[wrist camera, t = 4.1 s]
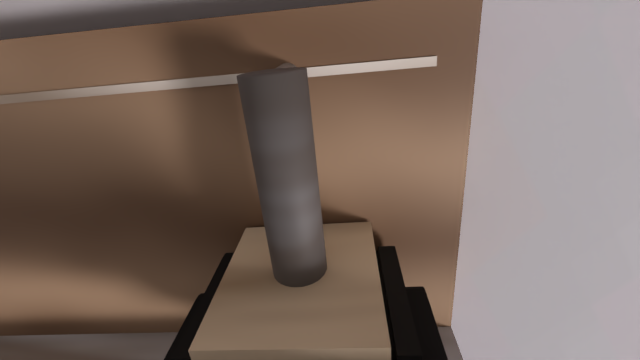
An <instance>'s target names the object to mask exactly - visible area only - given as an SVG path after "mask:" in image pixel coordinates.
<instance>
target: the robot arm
mask: <svg viewBox="0 0 640 360" xmlns="http://www.w3.org/2000/svg"><path fill="white" fill-rule="evenodd" d="M233 254H234V252H233V253H225V254H224V256H223V258H222V260H221V262H220V263H219V265H218V267H217V269H216V271H215V273H214V275H213V277H212V279H211V281H210V283H209V285H208V287H207V289H206V291H205V293H201V294H199V295H198V297H197V298H196V300H195V302H194V303H193V305H192V307H191V309H190V311H189V313H188V315H187V317H186V319H185V320H184V322H183V324H182V326H181V328H180V330H179V332H178V334H177V336H176V337H175V339H174V341H173V343H172V345H171V347H170V349H169V351H168V352H167V354H166V356H165V358H164V360H191V357H190V355H189V352H188V350H189V348H190V346H191V344H192V342H193V339H194V337H195V335H196V333H197V331H198V329H199V327H200V325H201V322H202V320H203V318H204V316H205V314H206V312H207V310H208V308H209V305H210V303H211V301H212V299H213V297H214V295H215V293H216V290H217V288H218V286H219V284H220V282H221V280H222V278H223V276H224V273H225V271H226V269H227V267H228V265H229V263H230V261H231V259H232V256H233ZM376 257H377V263H378V270H379V276H380V282H381V288H382V295H383V301H384V307H385V313H386V319H387V326H388V332H389V338H390V344H391V360H448V358H447V355H446V352H445V349H444V346H443V343H442V340H441V337H440V334H439V330H438V327H437V324H436V321H435V318H434V315H433V312H432V309H431V306H430V303H429V300H428V297H427V293H426V291H425V288H424V287H423V286H418V287H405V284H404V280H403V276H402V272H401V268H400V264H399V260H398V256H397V252H396V248H395V246H378V251H376Z"/></svg>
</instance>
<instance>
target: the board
mask: <svg viewBox="0 0 640 360" xmlns="http://www.w3.org/2000/svg"><path fill="white" fill-rule="evenodd" d="M482 2H483V0H374V1H364V2H355V3H345V4H336V5H327V6H317V7H308V8H298V9H289V10H279V11H270V12H261V13H251V14H242V15H232V16H223V17H213V18H204V19H194V20H185V21H176V22H166V23H157V24H147V25H138V26H128V27H119V28H110V29H100V30H91V31H81V32H72V33H62V34H53V35H44V36H34V37H25V38H15V39H6V40H0V360H164V358H165V356H166V354H167V352H168V351H169V349H170V347H171V345H172V343H173V341H174V339H175V337H176V336H177V334H178V332H179V330H180V328H181V326H182V324H183V322H184V320H185V319H186V317H187V315H188V313H189V311H190V309H191V307H192V305H193V303H194V302H195V300H196V298H197V297H198V295H199V294H201V293H205V291H206V289H207V287H208V285H209V283H210V281H211V279H212V277H213V275H214V273H215V271H216V269H217V267H218V265H219V263H220V262H221V260H222V258H223V256H224V254H225V253H233V252H235V250H236V248H237V246H238V244H239V242H240V239H241V237H242V235H243V233H244V231H245V229H246V228H251V227H265V226H264V221H263V216H262V210H261V205H260V200H259V194H258V189H257V184H256V178H255V173H254V167H253V162H252V157H251V151H250V146H249V141H248V135H247V130H246V125H245V119H244V114H243V109H242V103H241V98H240V93H239V87H238V82H237V77H236V76H237V75H240V74H243V73H248V72H253V71H259V70H267V69H275V68H277V67H278V66H280V65H281V64H283V63H292V64H294V65H295V66H296V67H303V68H307V75H308V85H309V95H310V104H311V114H312V124H313V134H314V143H315V153H316V163H317V173H318V183H319V192H320V202H321V212H322V222H323V224H333V223H354V222H371V226H372V232H373V238H374V245H375V251H378V246H395V248H396V252H397V256H398V260H399V264H400V268H401V272H402V276H403V280H404V284H405V287H418V286H423V287H424V288H425V291H426V293H427V297H428V300H429V303H430V306H431V309H432V312H433V315H434V318H435V321H436V324H437V327H438V330H439V334H440V337H441V340H442V343H443V346H444V349H445V352H446V355H447V358H448V360H463V358H462V355H461V353H460V350H459V347H458V345H457V342H456V339H455V337H454V334H453V331H452V328H451V319H452V309H453V298H454V288H455V278H456V268H457V257H458V247H459V237H460V227H461V217H462V206H463V196H464V186H465V176H466V165H467V155H468V145H469V135H470V125H471V114H472V104H473V94H474V84H475V74H476V63H477V53H478V43H479V33H480V22H481V12H482Z"/></svg>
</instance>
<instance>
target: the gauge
mask: <svg viewBox="0 0 640 360" xmlns="http://www.w3.org/2000/svg"><path fill="white" fill-rule="evenodd" d="M236 77H237V82H238V87H239V93H240V98H241V103H242V109H243V114H244V119H245V125H246V130H247V135H248V141H249V146H250V151H251V157H252V162H253V167H254V173H255V178H256V184H257V189H258V194H259V200H260V205H261V210H262V216H263V221H264V226H265V227H251V228H246V229H245V231H244V233H243V235H242V237H241V239H240V242H239V244H238V246H237V248H236V250H235V252H234V254H233V256H232V259H231V261H230V263H229V265H228V267H227V269H226V271H225V273H224V276H223V278H222V280H221V282H220V284H219V286H218V288H217V290H216V293H215V295H214V297H213V299H212V301H211V303H210V305H209V308H208V310H207V312H206V314H205V316H204V318H203V320H202V322H201V325H200V327H199V329H198V331H197V333H196V335H195V337H194V339H193V342H192V344H191V346H190V348H189V350H188V352H189V355H190V357H191V360H391V344H390V338H389V332H388V326H387V319H386V313H385V307H384V301H383V295H382V288H381V282H380V276H379V270H378V263H377V257H376V251H375V245H374V238H373V232H372V226H371V222H354V223H333V224H323V222H322V212H321V202H320V192H319V183H318V173H317V163H316V153H315V143H314V134H313V124H312V114H311V104H310V95H309V85H308V75H307V68H303V67H296V66H295V65H294V64H292V63H283V64H281V65H280V66H278V67H277V68H275V69H267V70H259V71H253V72H248V73H243V74H240V75H237V76H236Z"/></svg>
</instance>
